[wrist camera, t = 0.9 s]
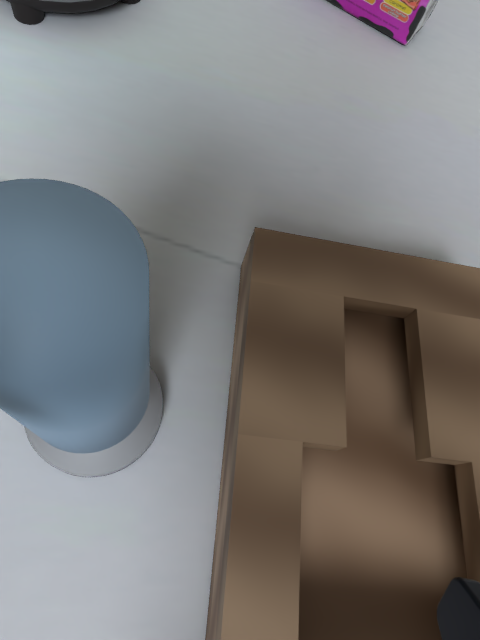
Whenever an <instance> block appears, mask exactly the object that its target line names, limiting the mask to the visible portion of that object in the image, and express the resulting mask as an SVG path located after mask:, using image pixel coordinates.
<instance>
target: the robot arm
mask: <svg viewBox="0 0 480 640" xmlns="http://www.w3.org/2000/svg"><path fill="white" fill-rule="evenodd" d="M437 621H438V626H439V630H440V634H441V638H442V640H480V583H479V582H478V581H476V580H473V579H468V578H462V577H455V578H453V579H452V580H451V581H450V583H449V585H448V587H447V589H446V591H445V592H444V594H443V596H442V598H441V600H440V602H439V604H438V606H437Z"/></svg>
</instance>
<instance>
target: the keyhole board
mask: <svg viewBox="0 0 480 640" xmlns="http://www.w3.org/2000/svg"><path fill="white" fill-rule="evenodd" d="M455 577H462V578H468V579H473V580H476V581H478V582H479V583H480V268H475V267H470V266H464V265H459V264H453V263H448V262H442V261H437V260H432V259H426V258H421V257H415V256H410V255H404V254H399V253H393V252H388V251H382V250H377V249H371V248H366V247H361V246H355V245H350V244H344V243H339V242H333V241H328V240H322V239H317V238H311V237H306V236H301V235H295V234H290V233H284V232H279V231H273V230H268V229H262V228H257V227H255V229H254V232H253V235H252V237H251V240H250V243H249V246H248V249H247V251H246V254H245V257H244V260H243V262H242V265H241V273H240V283H239V294H238V304H237V315H236V325H235V336H234V346H233V356H232V367H231V377H230V388H229V398H228V409H227V419H226V430H225V440H224V451H223V461H222V472H221V482H220V492H219V503H218V513H217V524H216V534H215V545H214V555H213V566H212V576H211V587H210V597H209V607H208V618H207V628H206V639H205V640H442V638H441V634H440V630H439V626H438V621H437V606H438V604H439V602H440V600H441V598H442V596H443V594H444V592H445V591H446V589H447V587H448V585H449V583H450V581H451V580H452V579H453V578H455Z"/></svg>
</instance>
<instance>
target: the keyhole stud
mask: <svg viewBox="0 0 480 640" xmlns="http://www.w3.org/2000/svg"><path fill="white" fill-rule="evenodd" d="M0 408H1V409H2V410H3V411H5V412H6V413H7V414H9V415H10V416H11V417H13V418H14V419H16V420H17V421H18V422H20V423H21V424H22V425H24V427H25V431H26V434H27V437H28V439H29V441H30V443H31V445H32V447H33V448H34V450H35V451H36V452H37V453H38V455H39V456H40V457H41V458H43V459H44V460H45V461H46V462H47V463H49V464H50V465H52V466H53V467H55V468H57V469H59V470H61V471H63V472H65V473H68V474H71V475H75V476H81V477H99V476H105V475H109V474H112V473H115V472H118V471H120V470H122V469H124V468H126V467H128V466H129V465H131V464H132V463H134V462H135V461H136V460H137V459H138V458H140V457H141V456H142V455H143V454H144V452H145V451H146V450H147V449H148V448H149V446H150V445H151V443H152V442H153V440H154V438H155V436H156V434H157V432H158V429H159V427H160V423H161V418H162V409H163V396H162V390H161V386H160V383H159V380H158V378H157V376H156V374H155V372H154V371H153V369H152V368H151V366H150V360H149V263H148V258H147V252H146V249H145V246H144V244H143V241H142V239H141V237H140V235H139V233H138V231H137V229H136V228H135V226H134V225H133V224H132V222H131V221H130V220H129V218H128V217H127V216H126V215H125V214H124V213H123V212H122V211H121V210H120V209H119V208H117V207H116V206H115V205H114V204H112V203H111V202H110V201H108V200H107V199H105V198H103V197H102V196H100V195H98V194H96V193H94V192H92V191H90V190H88V189H86V188H83V187H80V186H77V185H74V184H70V183H66V182H62V181H55V180H48V179H17V180H10V181H3V182H0Z"/></svg>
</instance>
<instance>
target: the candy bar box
mask: <svg viewBox="0 0 480 640" xmlns="http://www.w3.org/2000/svg"><path fill="white" fill-rule="evenodd" d="M327 1H329V2H331V3H332V4H334V5H336V6H337V7H339V8H341V9H343V10H344V11H346V12H348V13H349V14H351V15H353V16H354V17H356V18H358V19H360V20H361V21H363V22H365V23H367V24H368V25H370V26H372V27H374V28H375V29H377V30H379V31H380V32H382V33H384V34H386V35H387V36H389V37H391V38H393V39H394V40H396V41H398V42H399V43H401V44H403V45H407V44H408V43H409V41H410V40H411V39H412V38H413V37H414V35H415V34H416V33H417V32H418V31H419V30H420V29H421V28H422V26H423V25H424V24H425V23H426V21H427V20H428V18H429V16H430V15H431V13H432V11H433V9H434V7H435V5H436V4H437V2H438V0H327Z"/></svg>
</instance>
